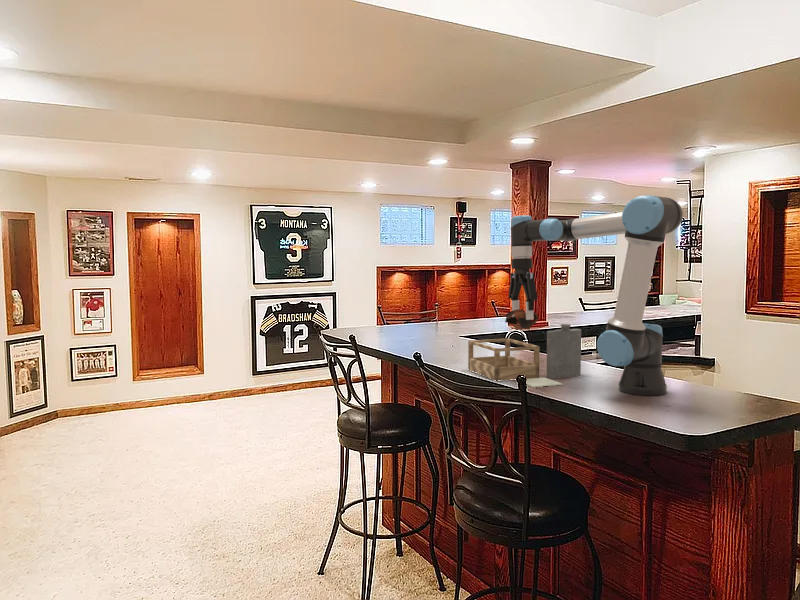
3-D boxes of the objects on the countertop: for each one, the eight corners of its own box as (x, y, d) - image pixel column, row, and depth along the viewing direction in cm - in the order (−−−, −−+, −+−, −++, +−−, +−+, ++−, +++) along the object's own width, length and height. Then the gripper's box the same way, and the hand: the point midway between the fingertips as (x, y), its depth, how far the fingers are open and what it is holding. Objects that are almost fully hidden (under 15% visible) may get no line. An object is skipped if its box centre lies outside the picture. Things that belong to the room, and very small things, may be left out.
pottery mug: (508, 331, 222) (502, 311, 226) (510, 340, 231) (505, 321, 234) (540, 323, 220) (534, 302, 224) (542, 332, 229) (536, 312, 232)
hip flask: (576, 373, 240) (577, 322, 239) (584, 375, 237) (584, 323, 235) (544, 377, 233) (545, 324, 231) (552, 379, 229) (552, 325, 228)
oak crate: (539, 378, 231) (539, 346, 230) (496, 381, 225) (496, 349, 225) (508, 367, 254) (508, 338, 253) (468, 370, 248) (468, 340, 247)
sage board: (562, 385, 218) (562, 383, 218) (532, 387, 214) (532, 386, 214) (544, 379, 230) (544, 377, 230) (515, 381, 226) (515, 379, 226)
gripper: (546, 257, 218) (547, 320, 219) (516, 258, 239) (517, 316, 240) (528, 257, 215) (528, 321, 217) (498, 258, 237) (499, 317, 238)
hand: (522, 318), depth 228 cm, fingers closed on pottery mug, 9 cm apart
